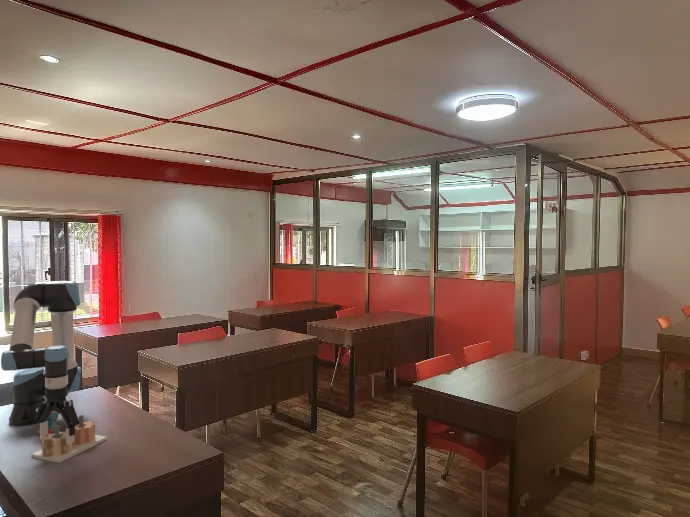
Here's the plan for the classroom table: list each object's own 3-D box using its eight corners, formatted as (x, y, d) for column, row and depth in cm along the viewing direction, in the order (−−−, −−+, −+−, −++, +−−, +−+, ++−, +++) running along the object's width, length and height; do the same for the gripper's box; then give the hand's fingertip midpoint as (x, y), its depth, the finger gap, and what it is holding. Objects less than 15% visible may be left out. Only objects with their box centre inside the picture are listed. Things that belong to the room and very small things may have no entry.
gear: (36, 454, 176) (35, 439, 175) (59, 444, 185) (59, 429, 185) (55, 458, 173) (55, 442, 172) (77, 447, 182) (77, 432, 182)
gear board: (31, 457, 176) (31, 428, 176) (81, 435, 197) (80, 409, 197) (59, 462, 172) (58, 433, 172) (106, 439, 193) (106, 413, 192)
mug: (36, 438, 194) (36, 413, 193) (35, 430, 201) (35, 406, 201) (69, 431, 201) (69, 407, 200) (67, 424, 208) (67, 401, 208)
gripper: (23, 386, 179) (24, 440, 179) (72, 392, 171) (73, 449, 171) (41, 380, 186) (42, 432, 186) (89, 387, 178) (90, 441, 178)
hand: (57, 441), depth 179 cm, fingers open, 13 cm apart
